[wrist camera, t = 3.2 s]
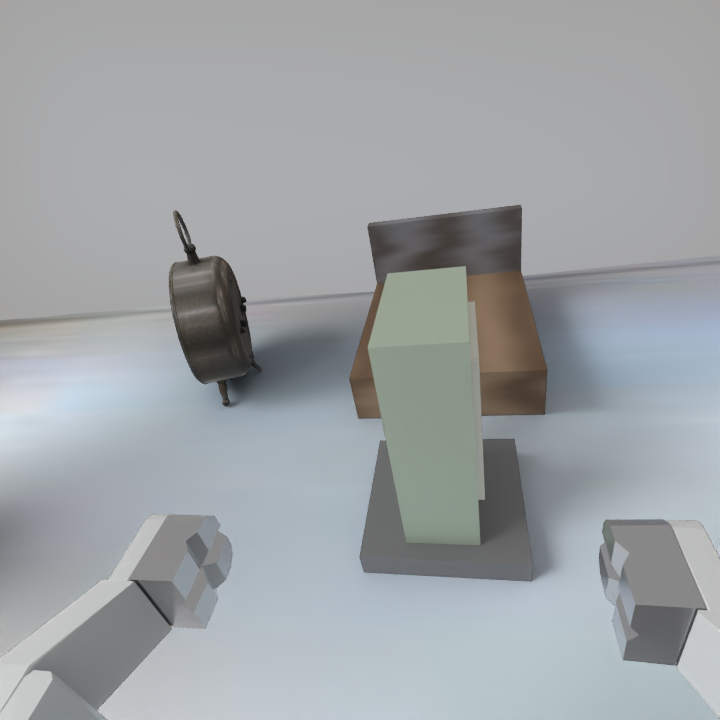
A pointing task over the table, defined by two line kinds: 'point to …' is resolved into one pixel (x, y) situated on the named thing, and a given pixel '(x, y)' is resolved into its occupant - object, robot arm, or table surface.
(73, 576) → the table surface
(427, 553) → the green pillar on base
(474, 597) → the table surface
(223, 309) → the alarm clock
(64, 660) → the robot arm
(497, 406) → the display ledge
